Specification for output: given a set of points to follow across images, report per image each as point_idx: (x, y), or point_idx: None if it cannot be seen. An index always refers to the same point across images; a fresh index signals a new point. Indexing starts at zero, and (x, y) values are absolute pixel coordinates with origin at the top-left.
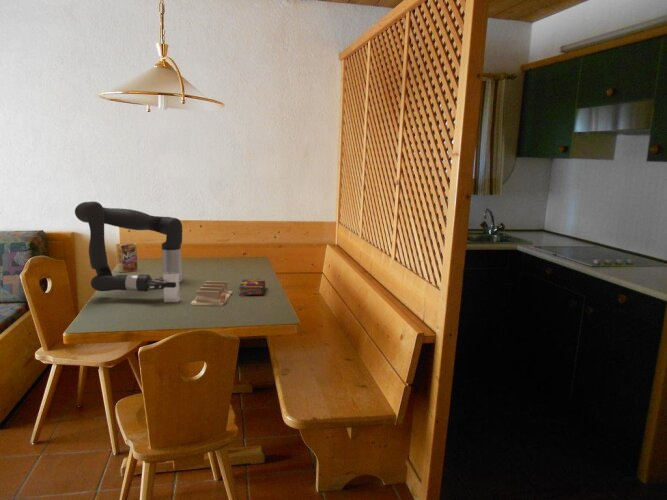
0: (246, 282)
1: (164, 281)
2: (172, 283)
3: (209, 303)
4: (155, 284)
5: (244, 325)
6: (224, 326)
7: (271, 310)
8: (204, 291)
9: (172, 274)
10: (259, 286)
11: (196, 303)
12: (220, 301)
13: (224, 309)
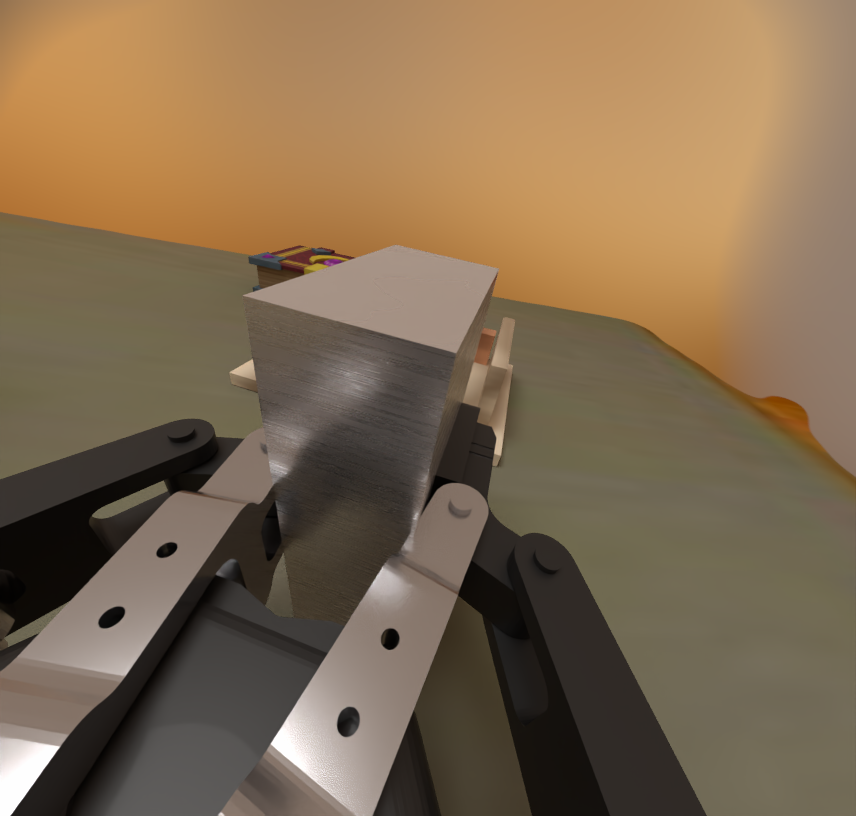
0: (305, 264)
1: (422, 507)
2: (475, 430)
3: (508, 395)
4: (692, 789)
5: (706, 376)
6: (754, 412)
7: (546, 318)
8: (509, 347)
9: (489, 292)
10: None
11: (502, 437)
12: (486, 363)
13: (558, 379)
